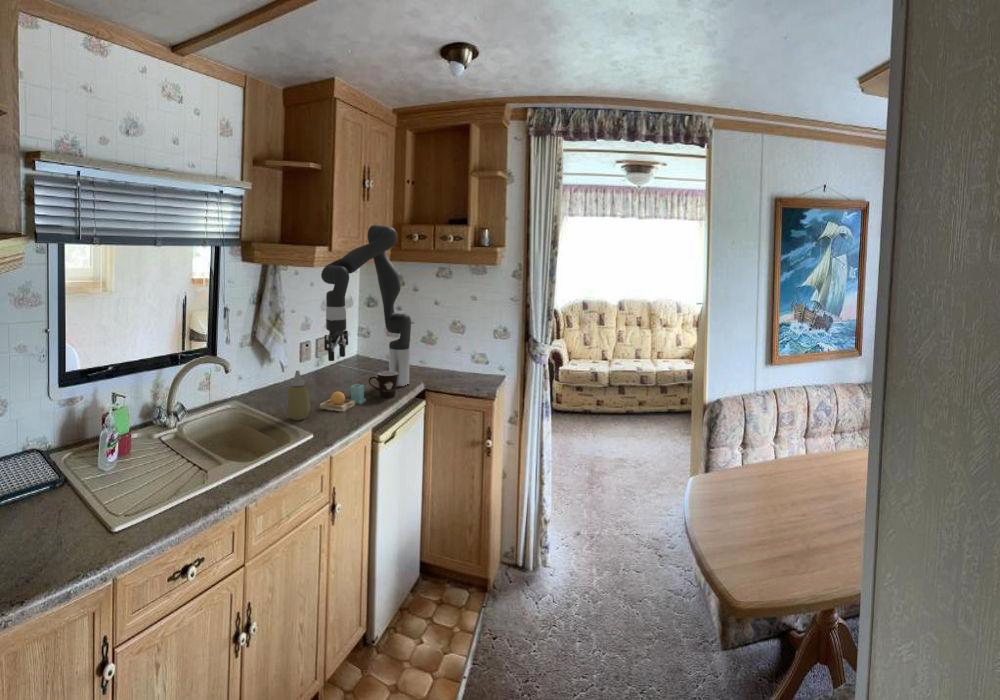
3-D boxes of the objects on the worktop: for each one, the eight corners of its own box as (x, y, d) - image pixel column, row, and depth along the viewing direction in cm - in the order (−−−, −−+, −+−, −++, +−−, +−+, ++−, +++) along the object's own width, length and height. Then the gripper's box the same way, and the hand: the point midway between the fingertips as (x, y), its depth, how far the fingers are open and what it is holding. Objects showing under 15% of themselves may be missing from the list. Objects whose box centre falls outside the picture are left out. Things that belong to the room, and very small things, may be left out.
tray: (332, 402, 233) (332, 397, 233) (355, 404, 231) (355, 400, 231) (319, 409, 223) (319, 404, 223) (343, 411, 221) (343, 406, 221)
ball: (335, 402, 230) (334, 389, 229) (347, 403, 229) (347, 390, 228) (328, 406, 225) (327, 392, 224) (340, 407, 224) (340, 394, 223)
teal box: (354, 400, 238) (354, 383, 237) (365, 401, 237) (365, 384, 236) (349, 403, 233) (348, 386, 232) (360, 404, 232) (360, 387, 231)
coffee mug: (400, 394, 250) (400, 371, 248) (394, 399, 241) (394, 376, 240) (374, 392, 251) (374, 370, 249) (368, 397, 242) (367, 374, 241)
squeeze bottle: (282, 419, 209) (280, 371, 206) (297, 413, 216) (296, 367, 213) (300, 422, 206) (298, 374, 203) (315, 416, 213) (313, 370, 210)
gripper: (336, 315, 228) (337, 354, 231) (317, 319, 215) (318, 361, 218) (353, 316, 227) (354, 356, 230) (335, 320, 213) (336, 363, 216)
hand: (336, 358), depth 224 cm, fingers open, 8 cm apart
